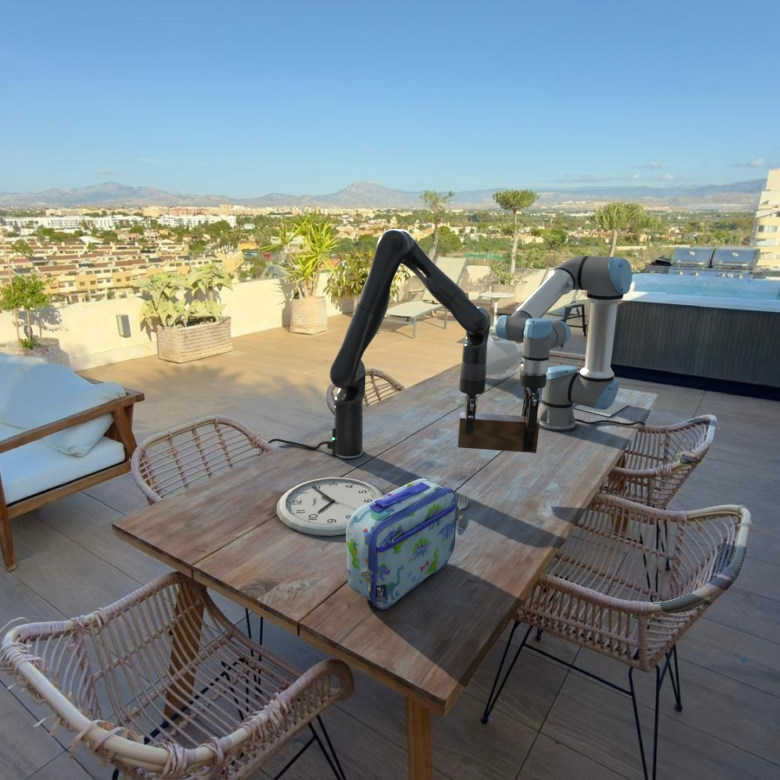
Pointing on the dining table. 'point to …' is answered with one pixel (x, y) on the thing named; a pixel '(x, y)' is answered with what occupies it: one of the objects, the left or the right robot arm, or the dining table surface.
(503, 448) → the bar
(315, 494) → the wall clock
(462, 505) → the fork
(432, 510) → the lunch box
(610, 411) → the grey wooden board
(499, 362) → the white plastic object
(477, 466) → the dining table surface
